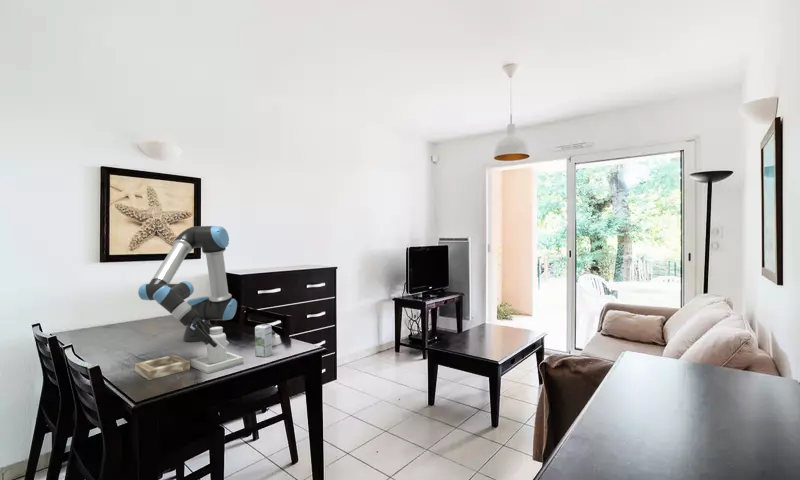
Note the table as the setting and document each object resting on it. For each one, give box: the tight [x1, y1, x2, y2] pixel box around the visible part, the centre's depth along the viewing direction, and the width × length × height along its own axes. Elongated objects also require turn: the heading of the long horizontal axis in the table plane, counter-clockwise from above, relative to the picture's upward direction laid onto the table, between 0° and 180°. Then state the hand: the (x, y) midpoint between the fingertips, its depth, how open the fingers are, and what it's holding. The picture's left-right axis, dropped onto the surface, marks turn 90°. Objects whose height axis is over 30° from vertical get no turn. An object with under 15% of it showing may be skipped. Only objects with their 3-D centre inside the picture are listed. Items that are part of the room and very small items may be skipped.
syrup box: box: [254, 324, 273, 358], centre depth 192 cm, size 6×6×14 cm
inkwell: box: [272, 329, 282, 347], centre depth 208 cm, size 9×18×10 cm, turn 13°
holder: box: [134, 354, 191, 381], centre depth 171 cm, size 16×16×4 cm
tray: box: [190, 351, 244, 375], centre depth 178 cm, size 16×16×3 cm
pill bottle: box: [206, 326, 228, 363], centre depth 178 cm, size 8×8×15 cm
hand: (224, 347), depth 179 cm, fingers closed on pill bottle, 8 cm apart
